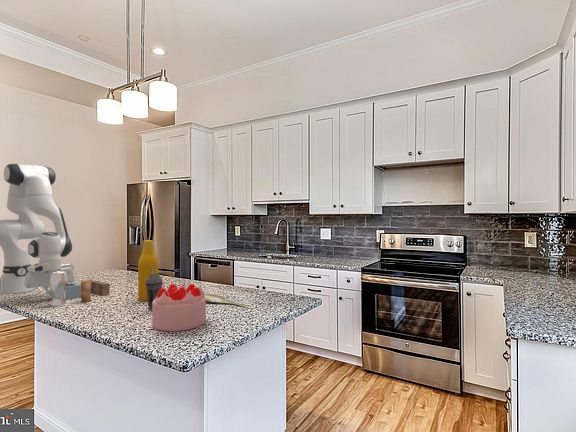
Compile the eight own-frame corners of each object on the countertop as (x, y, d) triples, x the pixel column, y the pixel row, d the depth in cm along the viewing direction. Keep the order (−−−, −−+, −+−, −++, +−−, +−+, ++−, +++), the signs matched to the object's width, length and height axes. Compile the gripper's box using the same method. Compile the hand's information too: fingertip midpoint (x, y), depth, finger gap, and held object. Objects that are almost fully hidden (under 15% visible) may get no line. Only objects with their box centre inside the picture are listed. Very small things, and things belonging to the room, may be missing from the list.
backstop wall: (84, 291, 187) (84, 280, 187) (90, 290, 190) (90, 279, 190) (103, 296, 176) (103, 284, 176) (109, 295, 179) (109, 283, 179)
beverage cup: (166, 307, 155) (166, 263, 155) (155, 311, 148) (155, 265, 148) (153, 305, 158) (153, 262, 157) (141, 310, 151) (141, 264, 151)
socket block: (52, 297, 172) (52, 285, 172) (74, 293, 180) (74, 282, 180) (61, 300, 166) (61, 288, 166) (83, 296, 175) (83, 284, 175)
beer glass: (58, 307, 155) (58, 273, 155) (45, 306, 157) (45, 273, 157) (71, 303, 162) (71, 271, 162) (58, 302, 164) (58, 270, 164)
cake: (216, 320, 136) (216, 284, 136) (177, 336, 119) (177, 294, 119) (180, 313, 146) (180, 279, 146) (139, 326, 129) (139, 288, 129)
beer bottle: (158, 300, 168) (158, 240, 168) (137, 302, 165) (137, 241, 164) (158, 296, 176) (158, 239, 176) (138, 297, 173) (138, 240, 173)
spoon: (262, 310, 158) (263, 305, 157) (248, 316, 149) (248, 311, 148) (208, 295, 176) (208, 291, 176) (192, 300, 167) (192, 295, 167)
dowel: (79, 301, 165) (79, 281, 165) (88, 300, 168) (88, 279, 168) (83, 303, 162) (83, 282, 162) (92, 301, 166) (92, 280, 166)
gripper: (70, 262, 177) (70, 289, 177) (22, 267, 160) (23, 297, 160) (76, 263, 174) (76, 291, 174) (28, 269, 157) (28, 299, 157)
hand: (50, 294), depth 167 cm, fingers closed
